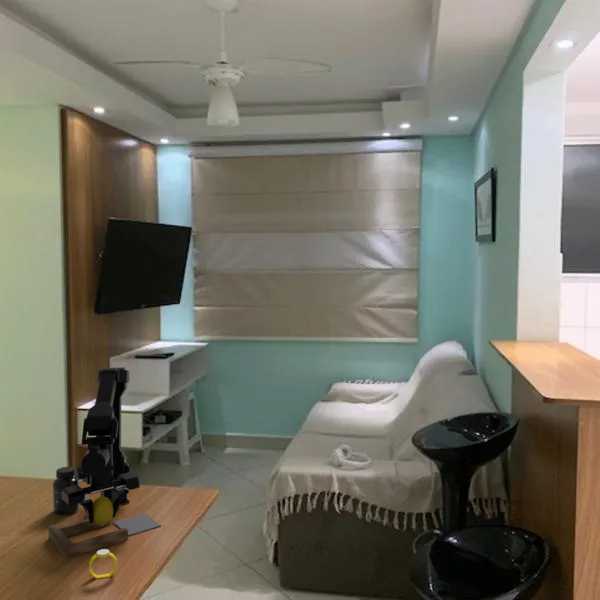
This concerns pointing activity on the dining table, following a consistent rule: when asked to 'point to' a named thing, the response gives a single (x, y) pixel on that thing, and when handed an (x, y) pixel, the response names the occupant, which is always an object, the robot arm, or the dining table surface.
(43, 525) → the dining table surface
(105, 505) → the lemon
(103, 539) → the shelf lane
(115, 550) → the dining table surface
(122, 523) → the mat
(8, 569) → the dining table surface
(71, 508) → the supplement bottle
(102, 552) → the watch
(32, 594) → the dining table surface
